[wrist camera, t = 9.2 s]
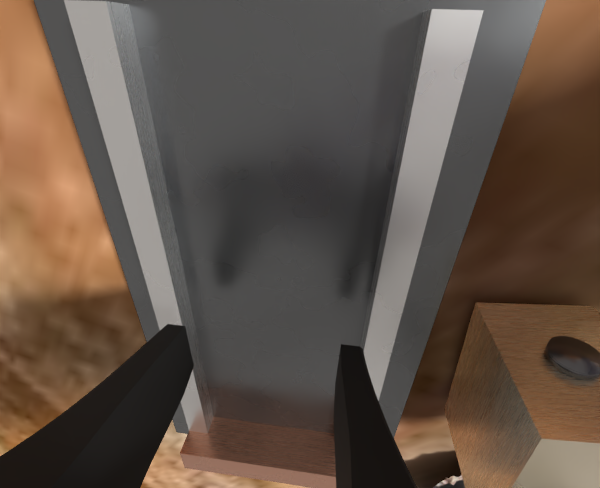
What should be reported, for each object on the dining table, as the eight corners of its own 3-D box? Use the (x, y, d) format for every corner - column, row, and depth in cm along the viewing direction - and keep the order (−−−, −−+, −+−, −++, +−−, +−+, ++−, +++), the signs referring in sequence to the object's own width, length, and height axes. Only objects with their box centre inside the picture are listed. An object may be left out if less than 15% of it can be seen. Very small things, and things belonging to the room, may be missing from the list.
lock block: (596, 299, 12) (736, 447, 7) (532, 415, 16) (601, 556, 11) (477, 296, 12) (545, 432, 8) (444, 409, 16) (478, 540, 12)
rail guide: (541, -26, 7) (625, -52, 5) (384, 450, 19) (388, 506, 16) (41, -33, 8) (-69, -58, 6) (180, 422, 20) (160, 470, 17)
